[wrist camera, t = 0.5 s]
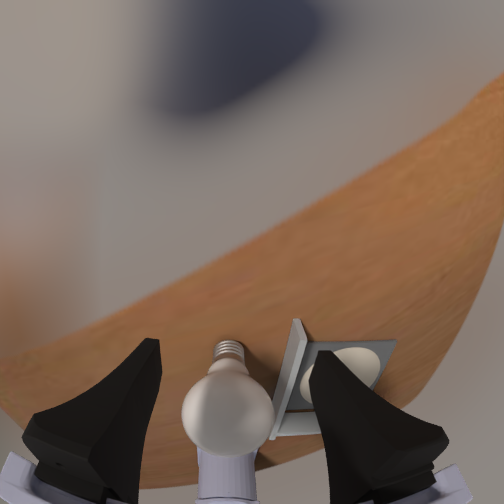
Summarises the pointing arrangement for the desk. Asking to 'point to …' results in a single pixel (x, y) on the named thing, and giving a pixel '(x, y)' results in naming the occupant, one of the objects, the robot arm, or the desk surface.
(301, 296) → the desk surface
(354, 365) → the mat
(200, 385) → the lightbulb
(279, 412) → the acrylic fence
